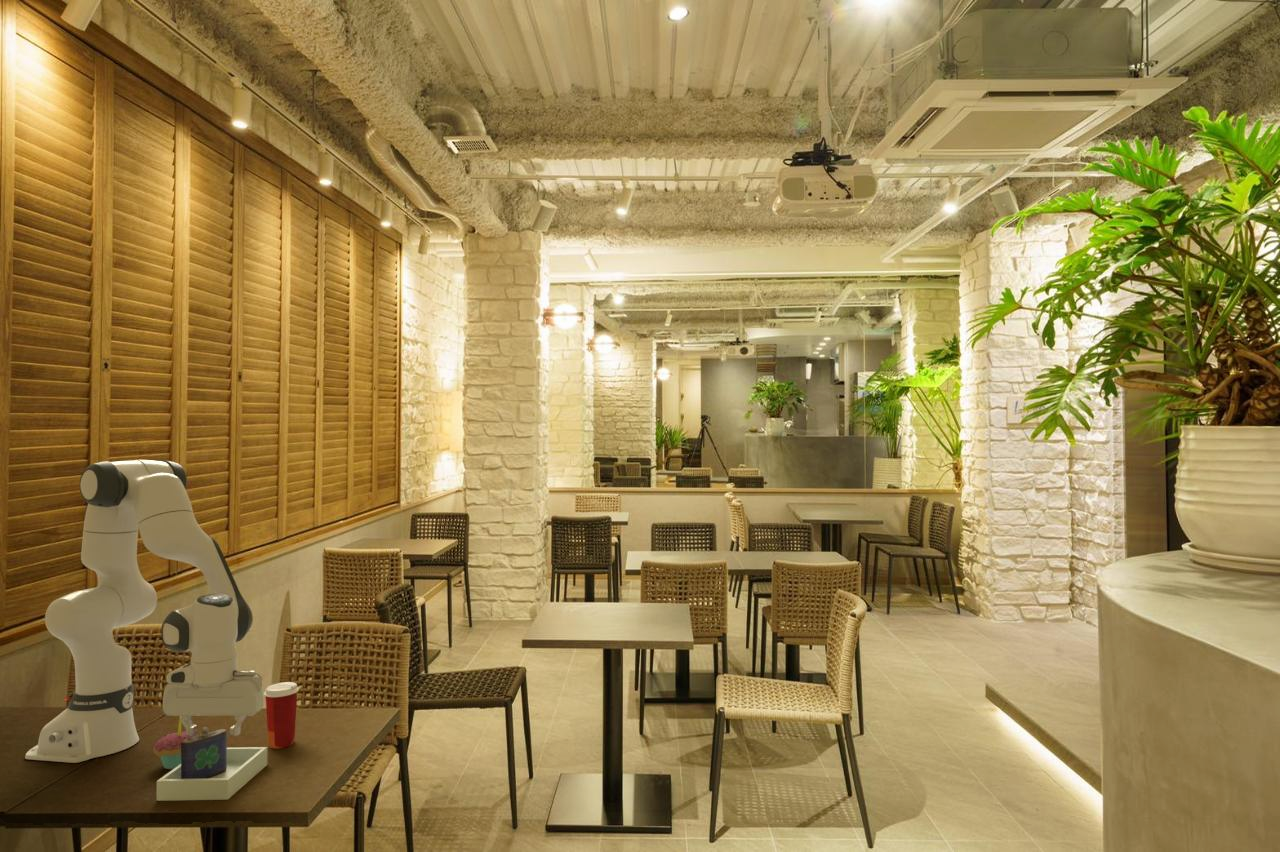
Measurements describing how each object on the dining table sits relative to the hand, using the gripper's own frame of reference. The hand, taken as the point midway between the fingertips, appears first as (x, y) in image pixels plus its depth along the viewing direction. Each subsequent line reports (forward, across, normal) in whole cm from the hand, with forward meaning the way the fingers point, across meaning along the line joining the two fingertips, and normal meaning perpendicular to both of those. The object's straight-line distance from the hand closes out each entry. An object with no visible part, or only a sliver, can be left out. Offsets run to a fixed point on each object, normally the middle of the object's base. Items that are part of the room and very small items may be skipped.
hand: (213, 734), depth 162 cm
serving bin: (+10, 0, 0) cm, 10 cm away
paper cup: (+10, -6, -20) cm, 23 cm away
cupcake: (+10, +14, -9) cm, 19 cm away
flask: (+9, +2, 0) cm, 9 cm away
